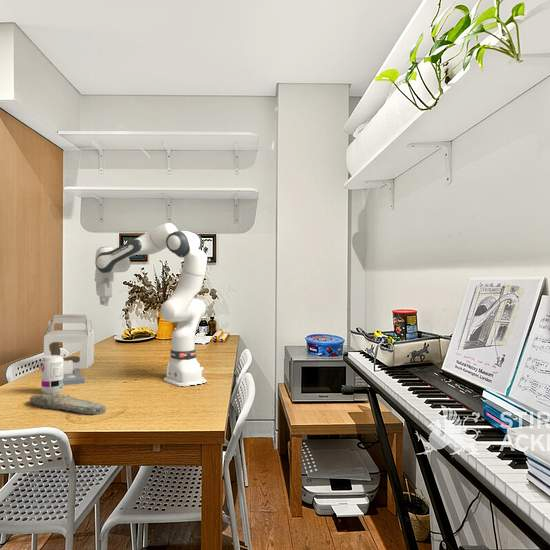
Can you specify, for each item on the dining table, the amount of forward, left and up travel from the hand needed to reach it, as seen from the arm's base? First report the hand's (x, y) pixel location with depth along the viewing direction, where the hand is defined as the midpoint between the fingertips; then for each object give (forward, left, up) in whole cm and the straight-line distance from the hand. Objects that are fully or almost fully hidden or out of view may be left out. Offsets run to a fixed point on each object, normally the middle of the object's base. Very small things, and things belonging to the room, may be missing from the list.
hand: (103, 305), depth 219 cm
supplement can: (-28, +26, -34) cm, 51 cm away
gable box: (+21, +13, -34) cm, 42 cm away
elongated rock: (-54, +24, -35) cm, 68 cm away
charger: (-3, +17, -34) cm, 38 cm away
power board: (-8, +17, -34) cm, 39 cm away
